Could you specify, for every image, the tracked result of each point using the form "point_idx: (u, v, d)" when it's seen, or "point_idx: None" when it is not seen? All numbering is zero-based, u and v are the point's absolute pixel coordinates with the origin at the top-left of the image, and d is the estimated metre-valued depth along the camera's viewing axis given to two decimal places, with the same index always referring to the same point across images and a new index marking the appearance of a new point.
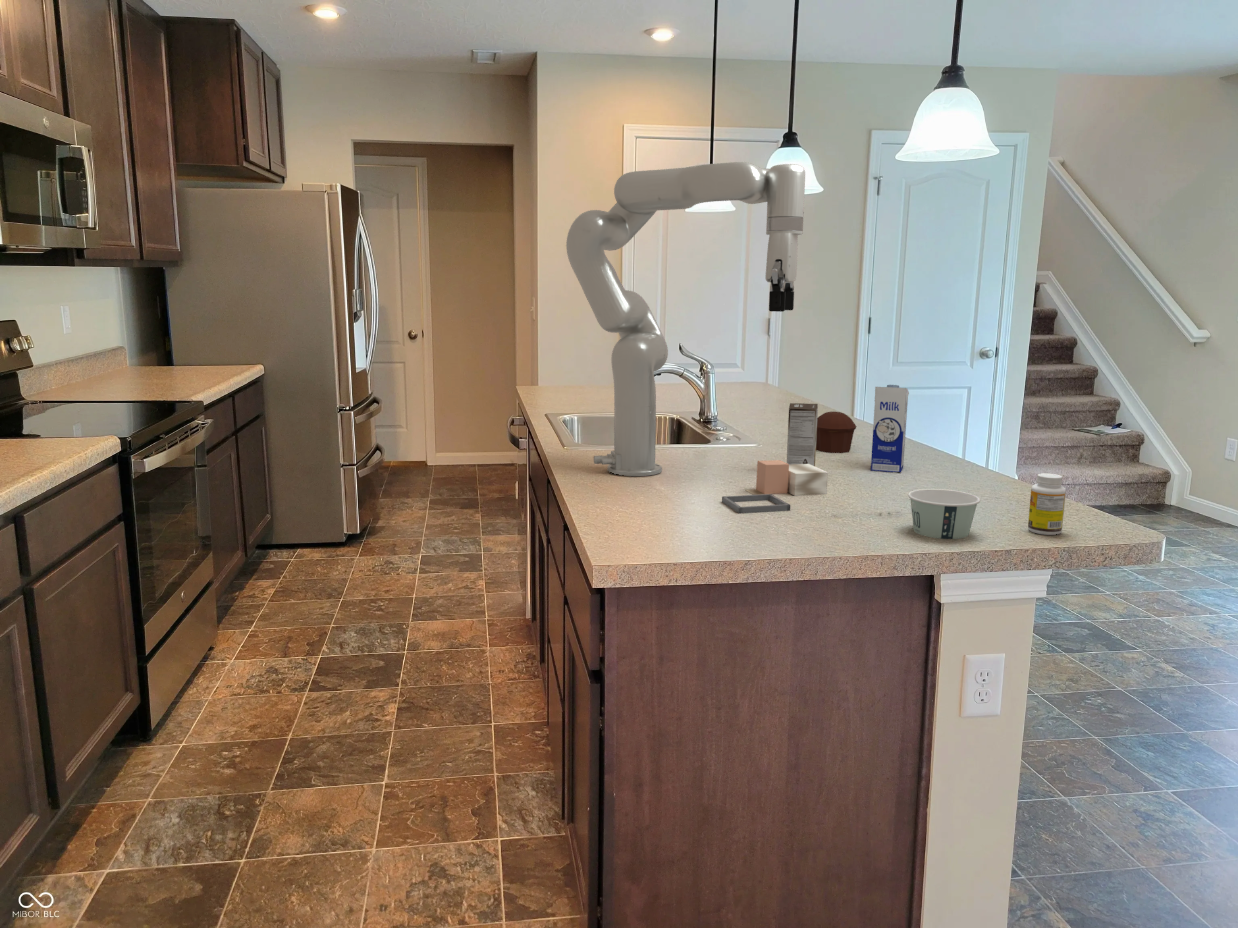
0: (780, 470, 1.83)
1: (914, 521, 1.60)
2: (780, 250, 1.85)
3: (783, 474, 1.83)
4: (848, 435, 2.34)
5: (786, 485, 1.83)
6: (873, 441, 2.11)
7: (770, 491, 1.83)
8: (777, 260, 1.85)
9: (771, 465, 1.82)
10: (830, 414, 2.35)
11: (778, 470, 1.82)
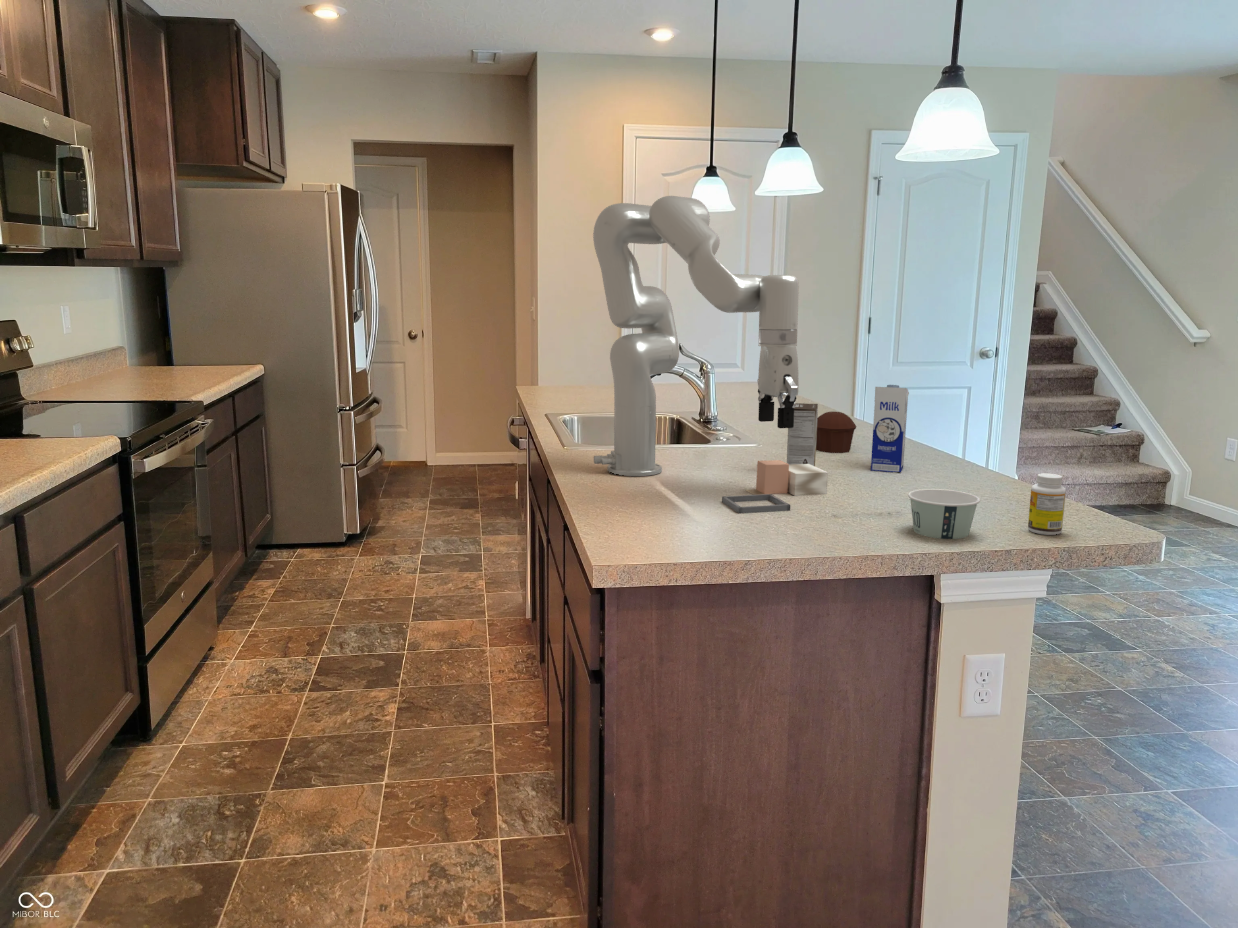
0: (780, 470, 1.83)
1: (914, 521, 1.60)
2: None
3: (783, 474, 1.83)
4: (849, 435, 2.34)
5: (786, 485, 1.83)
6: (873, 441, 2.11)
7: (770, 491, 1.83)
8: None
9: (771, 465, 1.82)
10: (830, 414, 2.35)
11: (778, 470, 1.82)
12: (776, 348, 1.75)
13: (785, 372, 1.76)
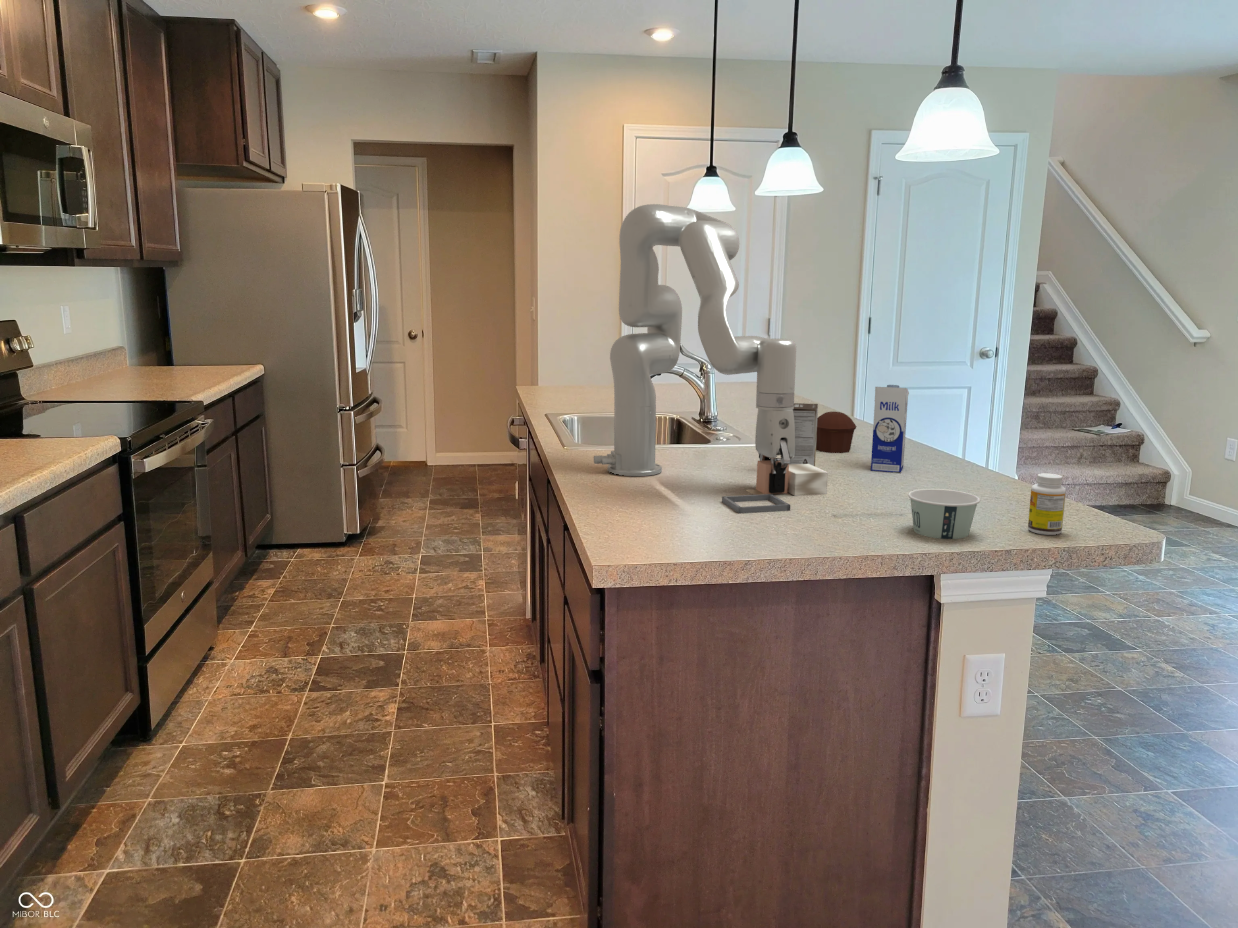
0: None
1: (914, 521, 1.60)
2: None
3: None
4: (849, 435, 2.34)
5: (786, 485, 1.83)
6: (873, 441, 2.11)
7: None
8: None
9: None
10: (830, 414, 2.35)
11: None
12: (773, 412, 1.78)
13: (782, 435, 1.78)
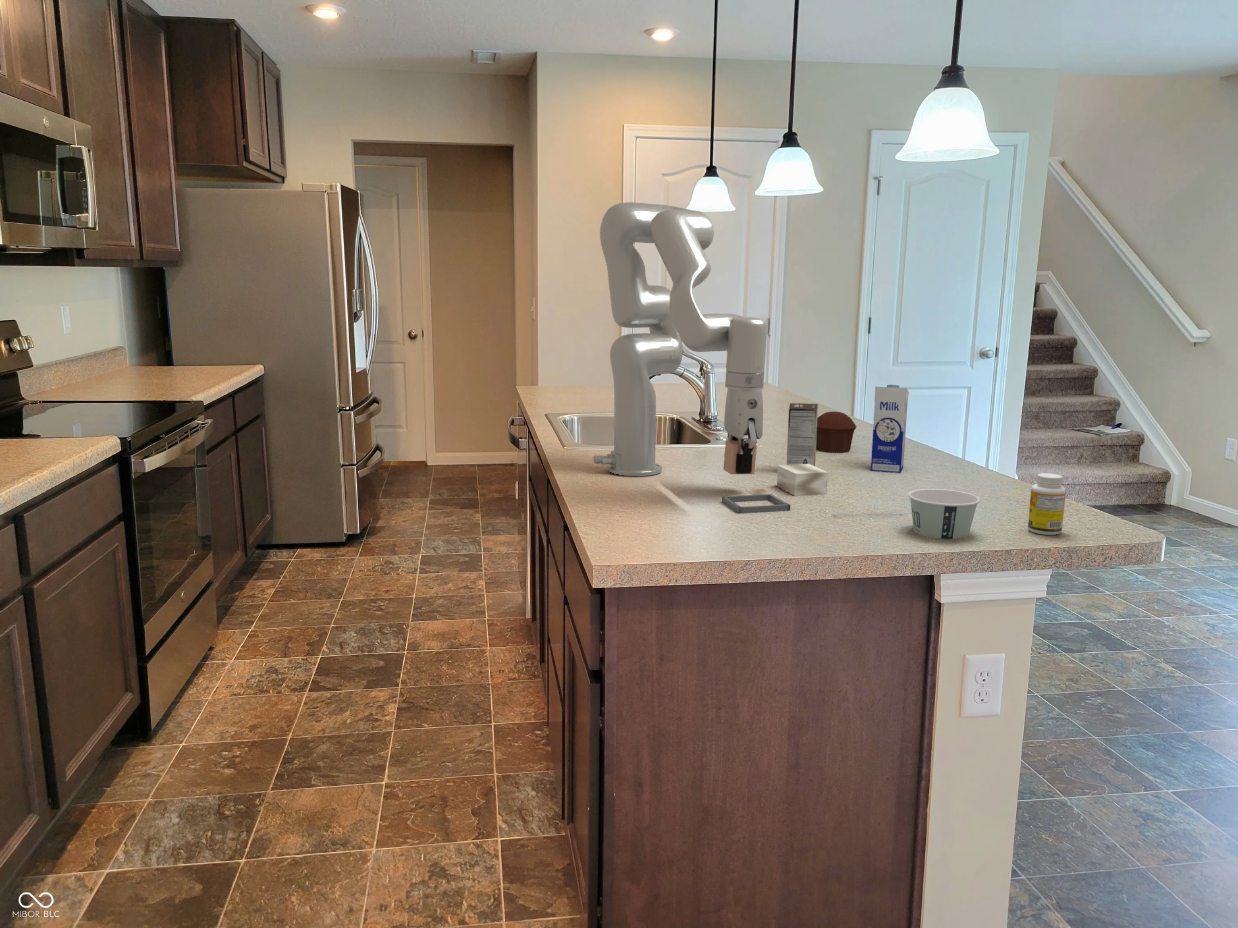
0: None
1: (914, 521, 1.60)
2: None
3: None
4: (849, 435, 2.34)
5: (753, 466, 1.82)
6: (873, 441, 2.11)
7: None
8: None
9: None
10: (830, 414, 2.35)
11: None
12: (742, 391, 1.76)
13: (750, 416, 1.76)
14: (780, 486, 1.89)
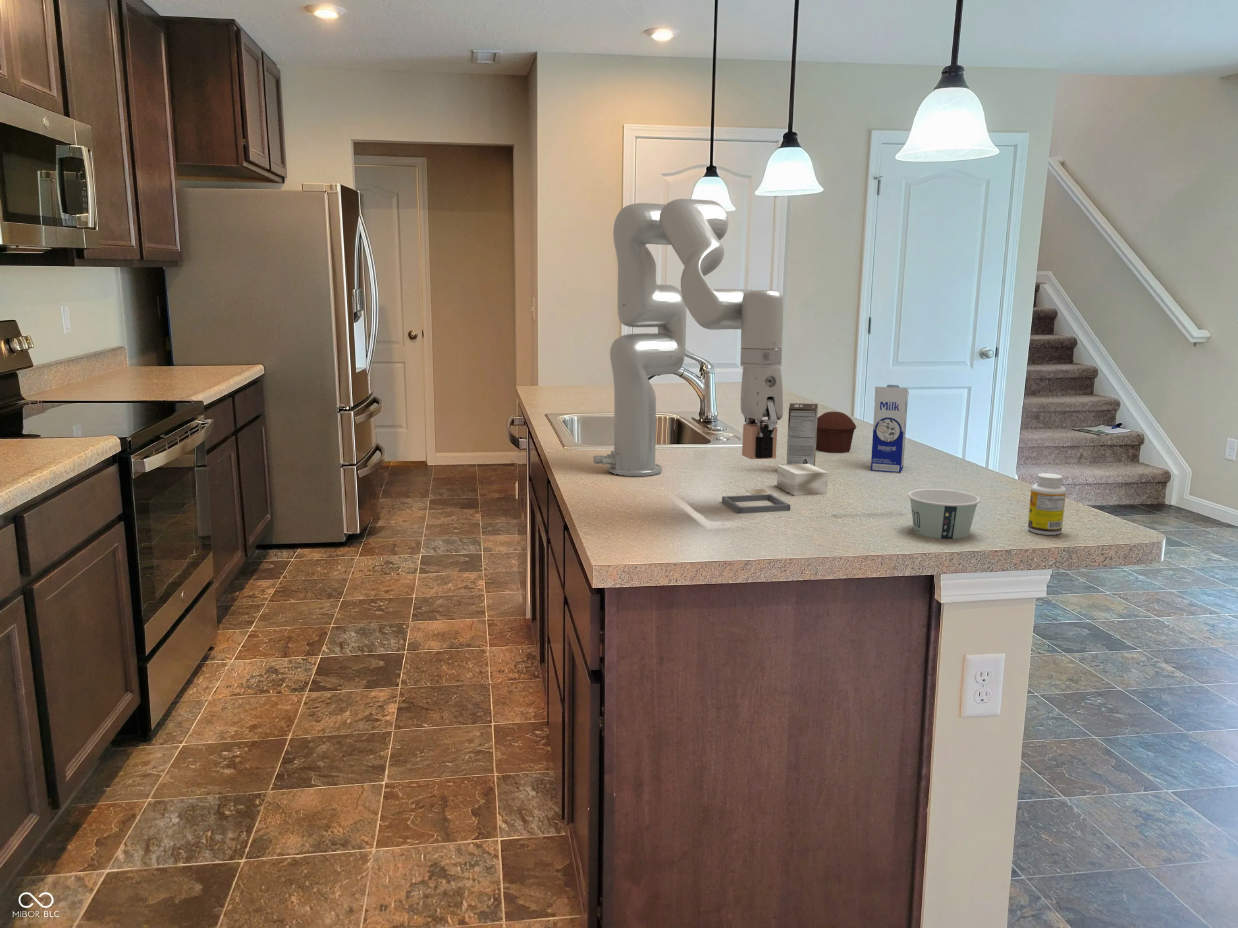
0: None
1: (914, 521, 1.60)
2: None
3: None
4: (849, 435, 2.34)
5: (774, 449, 1.69)
6: (873, 441, 2.11)
7: None
8: None
9: None
10: (830, 414, 2.35)
11: None
12: (759, 368, 1.64)
13: (768, 394, 1.64)
14: (780, 486, 1.89)
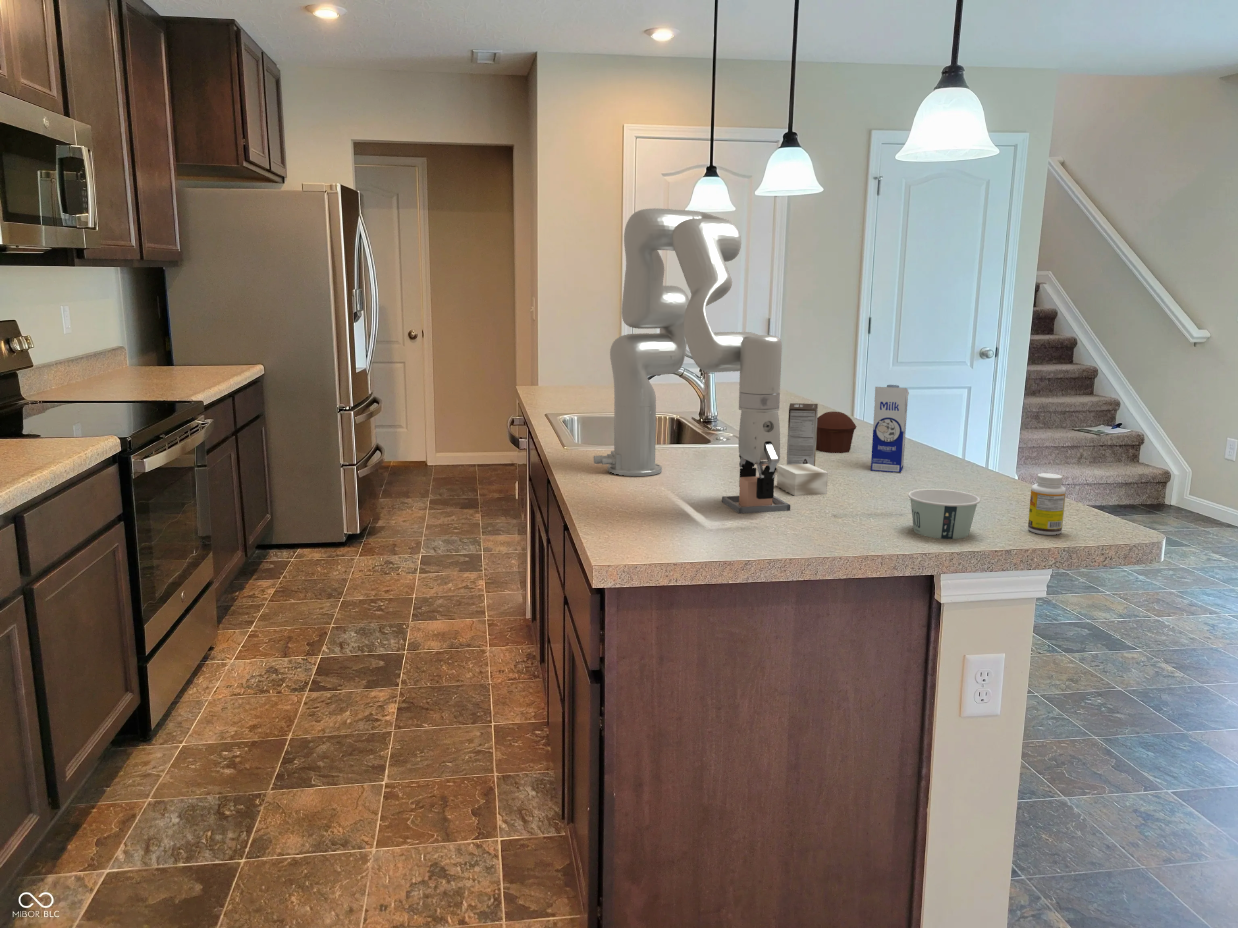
0: None
1: (914, 521, 1.60)
2: None
3: None
4: (849, 435, 2.34)
5: (770, 503, 1.71)
6: (873, 441, 2.11)
7: None
8: None
9: (754, 482, 1.70)
10: (830, 414, 2.35)
11: None
12: (757, 413, 1.65)
13: (766, 439, 1.66)
14: (780, 486, 1.89)
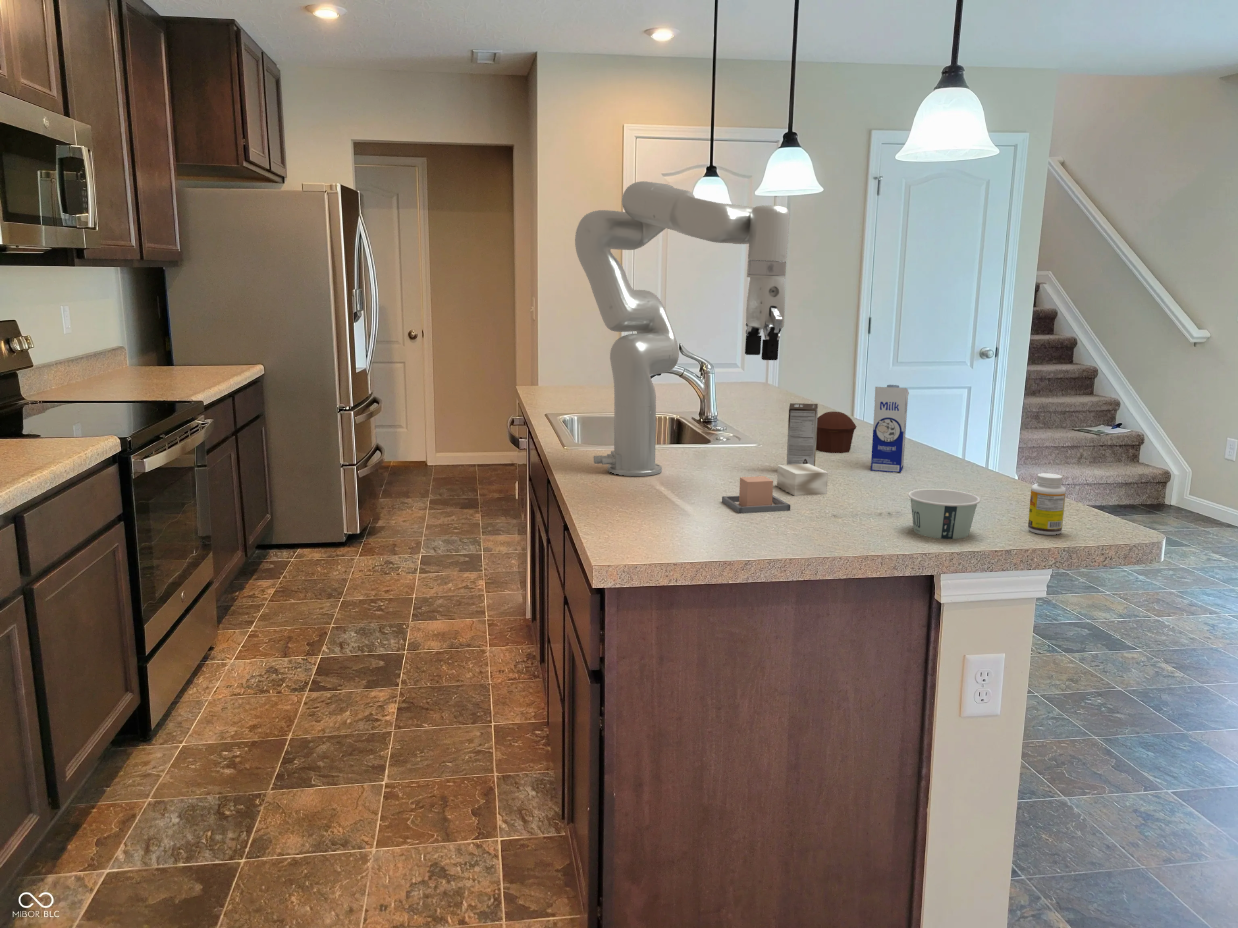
0: (763, 487, 1.70)
1: (914, 521, 1.60)
2: None
3: (767, 491, 1.71)
4: (848, 435, 2.34)
5: (770, 503, 1.71)
6: (873, 441, 2.11)
7: None
8: None
9: (754, 482, 1.70)
10: (830, 414, 2.35)
11: (762, 487, 1.70)
12: (763, 279, 1.75)
13: (771, 303, 1.76)
14: (780, 486, 1.89)
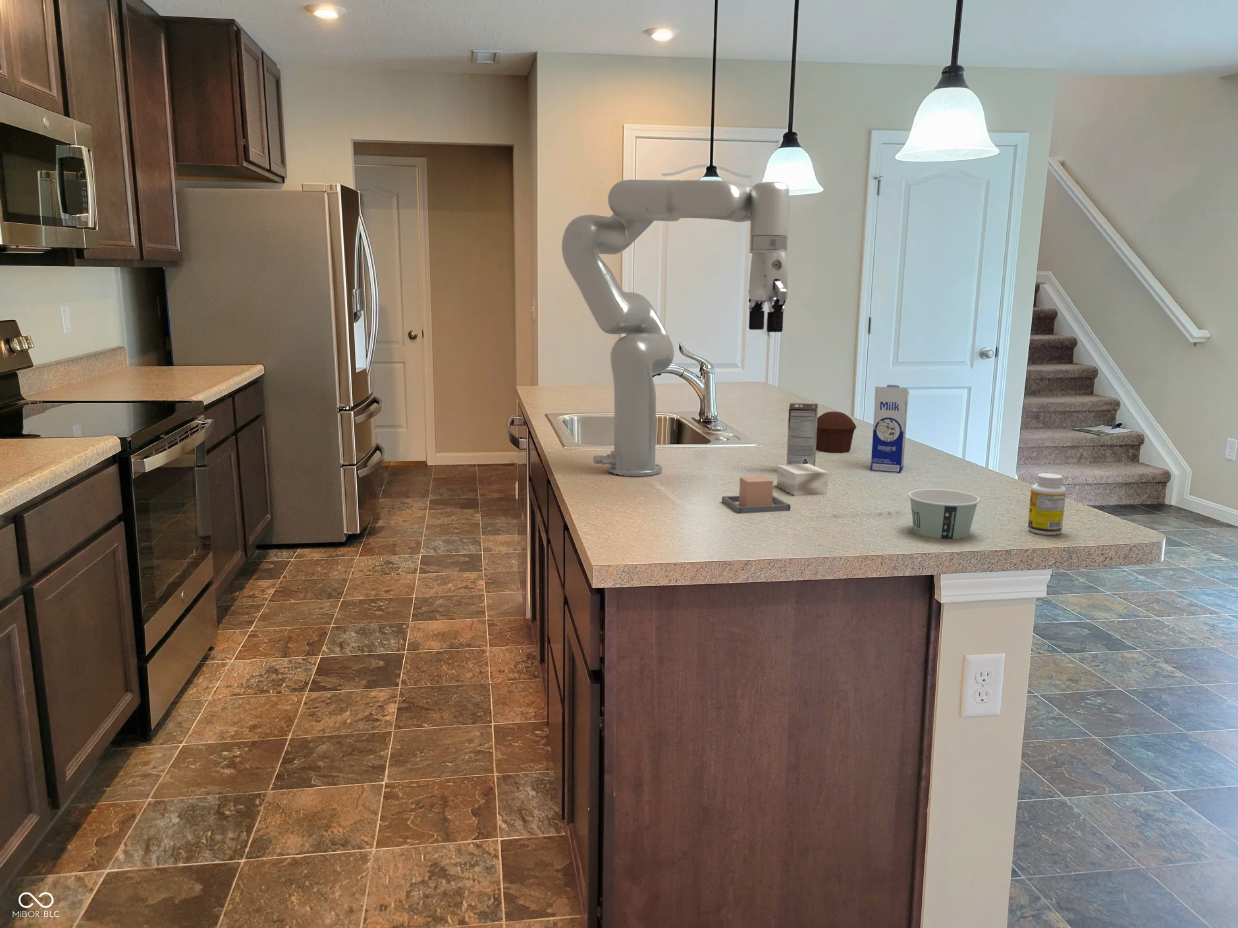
0: (763, 487, 1.70)
1: (914, 521, 1.60)
2: None
3: (767, 491, 1.71)
4: (848, 435, 2.34)
5: (770, 503, 1.71)
6: (873, 441, 2.11)
7: None
8: None
9: (754, 482, 1.70)
10: (830, 414, 2.35)
11: (762, 487, 1.70)
12: (766, 253, 1.81)
13: (775, 277, 1.81)
14: (780, 486, 1.89)
